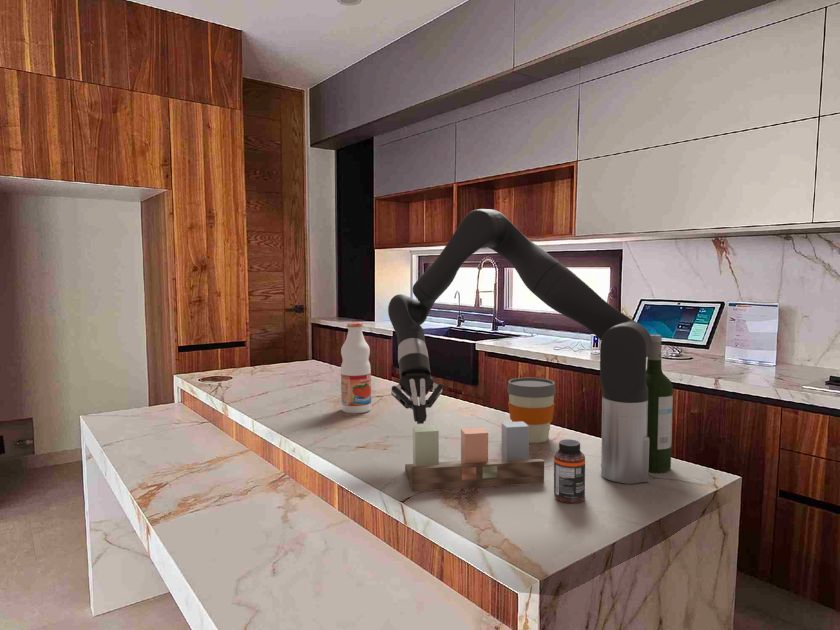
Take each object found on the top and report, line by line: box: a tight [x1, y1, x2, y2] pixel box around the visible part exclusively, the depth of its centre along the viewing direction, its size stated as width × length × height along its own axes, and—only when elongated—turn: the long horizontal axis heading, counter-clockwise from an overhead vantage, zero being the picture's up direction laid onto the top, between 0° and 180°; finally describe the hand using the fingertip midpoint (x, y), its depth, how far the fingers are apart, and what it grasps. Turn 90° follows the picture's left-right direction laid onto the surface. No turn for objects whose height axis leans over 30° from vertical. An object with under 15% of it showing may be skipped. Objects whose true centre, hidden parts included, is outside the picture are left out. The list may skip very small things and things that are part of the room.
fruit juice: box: [340, 321, 372, 414], centre depth 182 cm, size 9×9×28 cm
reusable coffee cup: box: [507, 377, 557, 444], centre depth 152 cm, size 13×13×15 cm
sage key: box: [412, 425, 440, 466], centre depth 124 cm, size 5×4×9 cm
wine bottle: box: [646, 334, 674, 474], centre depth 128 cm, size 8×8×30 cm
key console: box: [404, 458, 545, 492], centre depth 124 cm, size 28×12×5 cm, turn 98°
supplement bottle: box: [553, 438, 586, 504], centre depth 112 cm, size 6×6×11 cm
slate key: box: [500, 421, 530, 461], centre depth 127 cm, size 5×4×9 cm
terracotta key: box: [460, 427, 489, 464], centre depth 123 cm, size 5×4×9 cm
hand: (420, 422), depth 132 cm, fingers closed
